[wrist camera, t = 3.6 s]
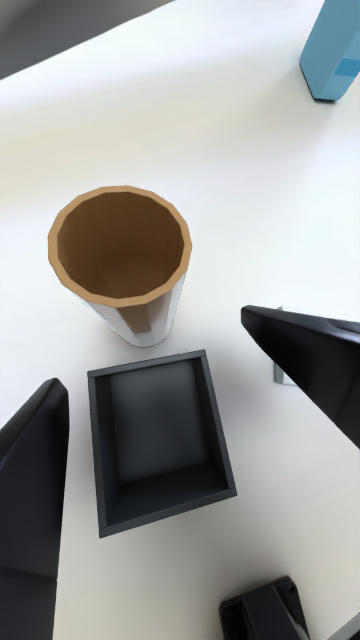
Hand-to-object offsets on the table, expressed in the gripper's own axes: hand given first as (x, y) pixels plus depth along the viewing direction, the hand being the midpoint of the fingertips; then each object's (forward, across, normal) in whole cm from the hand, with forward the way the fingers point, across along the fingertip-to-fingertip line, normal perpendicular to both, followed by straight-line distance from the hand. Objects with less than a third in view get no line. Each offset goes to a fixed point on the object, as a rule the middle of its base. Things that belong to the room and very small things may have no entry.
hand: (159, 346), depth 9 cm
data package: (+34, -44, -18) cm, 59 cm away
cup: (+11, 0, +5) cm, 12 cm away
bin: (+4, +2, +11) cm, 12 cm away
